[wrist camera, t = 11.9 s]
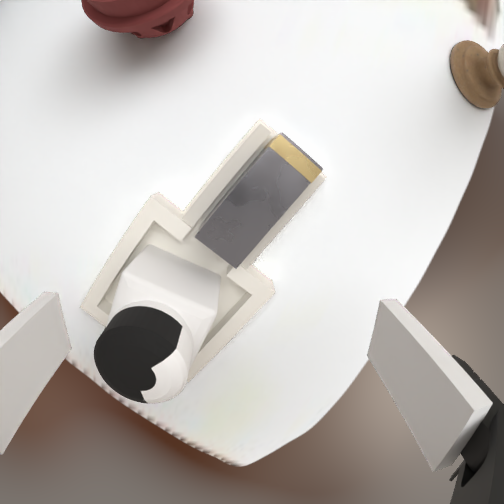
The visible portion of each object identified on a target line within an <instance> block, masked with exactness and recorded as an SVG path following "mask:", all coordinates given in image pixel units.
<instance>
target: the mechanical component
mask: <svg viewBox="0 0 504 504" xmlns="http://www.w3.org/2000/svg"><path fill="white" fill-rule="evenodd" d="M81 1H82V7H83V10H84V12H85V13H86V15H87V16H88V17H89V18H90V19H91V20H92V21H93V22H94V23H96V24H97V25H98V26H100V27H101V28H103V29H105V30H109V31H112V32H120V33H129V32H130V33H132V34H134V35H136V36H137V37H138V38H151V37H158V36H162V35H165V34H168V33H170V32H172V31H174V30H175V29H177V28H178V27H180V26H181V25H182V24H183V23H184V22H185V21H186V20H187V19H189V18H191V17H192V15H193V5H194V0H81Z"/></svg>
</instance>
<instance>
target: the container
mask: <svg viewBox="0 0 504 504" xmlns="http://www.w3.org/2000/svg"><path fill="white" fill-rule="evenodd" d="M220 283H221V276H220V275H219V274H216V273H214V272H212V271H210V270H207V269H205V268H203V267H200V266H198V265H196V264H194V263H191V262H189V261H187V260H185V259H183V258H180V257H178V256H176V255H174V254H171V253H169V252H167V251H165V250H163V249H160V248H158V247H156V246H154V245H151V244H149V245H147V246H146V247H145V248H144V249H143V250H142V251H141V252H140V253H139V255H138V256H137V257H136V258H135V259H134V260H133V261H132V262H131V263H130V264H129V265H128V266H127V268H126V269H125V270H124V271H123V272H122V274H121V277H120V280H119V283H118V287H117V290H116V293H115V297H114V300H113V303H112V307H111V310H110V314H109V317H108V321H107V325H106V328H105V330H104V331H103V333H102V334H101V336H100V337H99V339H98V340H97V342H96V345H95V349H94V359H95V363H96V366H97V369H98V371H99V373H100V375H101V376H102V378H103V379H104V381H105V382H106V383H107V384H108V385H109V386H110V387H111V388H112V389H113V390H115V391H116V392H117V393H119V394H120V395H122V396H124V397H126V398H128V399H131V400H134V401H137V402H141V403H160V402H164V401H167V400H170V399H172V398H174V397H176V396H177V395H178V394H180V392H181V391H182V390H183V389H184V387H185V385H186V382H187V378H188V372H189V370H190V368H191V366H192V364H193V362H194V360H195V358H196V356H197V354H198V352H199V350H200V348H201V346H202V344H203V342H204V340H205V338H206V336H207V334H208V332H209V330H210V328H211V326H212V324H213V322H214V320H215V318H216V316H217V310H218V301H219V292H220Z"/></svg>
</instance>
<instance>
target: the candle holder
mask: <svg viewBox="0 0 504 504" xmlns="http://www.w3.org/2000/svg"><path fill="white" fill-rule="evenodd" d="M450 65H451V70H452V74H453V77H454V80H455V82H456V84H457V86H458V88H459V90H460V91H461V93H462V94H463V95H464V97H465V98H466V99H467V100H468V101H469V102H471V103H472V104H473V105H475V106H477V107H479V108H492V107H494V106H495V105H496V104H497V103H498V102H499V100H500V97H501V92H502V88H503V89H504V44H503V45H502V46H501V48H500V50H498V49H492V50H490V51H489V53H488V52H487V51H486V50H485V49H484V48H483V47H482V46H480V45H479V44H477V43H475V42H473V41H468V40H467V41H462V42H459V43H457V44H456V45H455V46H454V47H453V49H452V52H451V56H450Z"/></svg>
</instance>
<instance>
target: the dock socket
mask: <svg viewBox="0 0 504 504" xmlns="http://www.w3.org/2000/svg"><path fill="white" fill-rule="evenodd" d="M276 135H278V133H277V132H276V131H274V130H273V129H272V128H271V127H270V126H268V125H267V124H266V123H265V122H263V121H262V120H261V119H259V120H258V121H257V122H256V123H255V125H254V126H253V127H252V128H251V129H250V130H249V131H248V133H247V134H246V135H245V136H244V137H243V138H242V139H241V141H240V142H239V143H238V144H237V145H236V146H235V148H234V149H233V150H232V151H231V152H230V154H229V155H228V156H227V157H226V158H225V159H224V161H223V162H222V163H221V164H220V166H219V167H218V168H217V169H216V170H215V172H214V173H213V174H212V175H211V176H210V178H209V179H208V180H207V181H206V183H205V184H204V185H203V186H202V188H201V189H200V190H199V191H198V193H197V194H196V195H195V196H194V198H193V199H192V200H191V202H190V203H189V204H188V205H187V207H186V208H185V209H184V211H182V210H181V209H180V208H179V207H177V206H176V205H175V204H174V203H172V202H171V201H170V200H168V199H167V198H166V197H165V196H163V195H162V194H161V193H160V192H158V193H156V194H153V195H151V196H150V197H149V199H148V200H147V201H146V203H145V204H144V206H143V207H142V209H141V210H140V211H139V213H138V214H137V216H136V217H135V219H134V220H133V222H132V223H131V225H130V226H129V228H128V229H127V231H126V232H125V234H124V235H123V237H122V238H121V240H120V241H119V243H118V244H117V246H116V247H115V249H114V251H113V252H112V254H111V255H110V257H109V259H108V260H107V262H106V263H105V265H104V267H103V268H102V270H101V272H100V273H99V275H98V277H97V278H96V280H95V282H94V283H93V285H92V287H91V288H90V290H89V292H88V294H87V295H86V297H85V299H84V301H83V302H82V304H81V306H80V308H82V309H83V310H84V311H85V312H87V313H88V314H89V315H90V316H92V317H93V318H94V319H96V320H97V321H98V322H99V323H101V324H102V325H103V326H105V327H106V325H107V321H108V317H109V314H110V310H111V307H112V303H113V300H114V297H115V293H116V290H117V287H118V283H119V280H120V277H121V274H122V272H123V271H124V270H125V269H126V268H127V266H128V265H129V264H130V263H131V262H132V261H133V260H134V259H135V258H136V257H137V256H138V255H139V253H140V252H141V251H142V250H143V249H144V248H145V247H146V246H147V245H149V244H151V245H154V246H156V247H158V248H160V249H163V250H165V251H167V252H169V253H171V254H174V255H176V256H178V257H180V258H183V259H185V260H187V261H189V262H191V263H194V264H196V265H198V266H200V267H203V268H205V269H207V270H210V271H212V272H214V273H216V274H219V275H220V276H221V283H220V292H219V301H218V310H217V316H216V318H215V320H214V322H213V324H212V326H211V328H210V330H209V332H208V334H207V336H206V338H205V340H204V342H203V344H202V346H201V348H200V350H199V352H198V354H197V356H196V358H195V360H194V362H193V364H192V366H191V368H190V370H189V372H188V378H187V382H189V381H190V380H191V379H192V378H193V377H194V376H195V375H196V374H197V373H198V372H199V371H200V370H201V369H202V368H203V367H204V366H205V365H206V364H207V363H208V362H209V361H210V360H211V359H212V358H213V357H214V356H215V355H216V354H217V353H218V352H219V351H220V350H221V349H222V348H223V347H224V346H225V345H226V344H227V343H228V342H229V341H230V340H231V339H232V338H233V337H234V336H235V335H236V334H237V333H238V332H239V331H240V330H241V329H242V328H243V327H244V326H245V325H246V323H247V322H248V321H249V320H250V319H251V318H252V317H253V316H254V315H255V314H256V313H257V312H258V311H259V310H260V309H261V308H262V307H263V306H264V304H265V303H266V302H267V301H268V300H269V299H270V298H271V297H272V296H273V295H274V294H275V289H274V286H273V282H272V280H271V279H270V278H268V277H267V276H266V275H265V274H263V273H262V272H261V271H259V270H258V269H257V268H256V267H254V266H253V265H252V263H253V262H254V261H255V259H256V258H257V257H258V256H259V255H260V254H261V253H262V251H263V250H264V249H265V248H266V247H267V246H268V245H269V243H270V242H271V241H272V240H273V239H274V238H275V237H276V235H277V234H278V233H279V232H280V231H281V230H282V229H283V227H284V226H285V225H286V224H287V223H288V222H289V221H290V219H291V218H292V217H293V216H294V215H295V214H296V212H297V211H298V210H299V209H300V208H301V207H302V206H303V204H304V203H305V202H306V201H307V200H308V199H309V198H310V196H311V195H312V194H313V193H314V192H315V191H316V189H317V188H318V187H319V186H320V185H321V184H322V183H323V181H324V180H325V178H326V176H325V175H324V174H323V173H322V172H321V173H320V174H319V175H318V176H317V178H316V179H315V180H314V181H313V182H312V183H310V184H309V186H308V187H307V188H306V189H305V190H304V191H303V192H302V194H301V195H300V196H299V197H298V198H297V199H296V201H295V202H294V203H293V204H292V205H291V206H290V207H289V209H288V210H287V211H286V212H285V213H284V214H283V216H282V217H281V218H280V219H279V220H278V221H277V222H276V224H275V225H274V226H273V227H272V228H271V229H270V231H269V232H268V233H267V234H266V235H265V236H264V237H263V239H262V240H261V241H260V242H259V243H258V244H257V246H256V247H255V248H254V249H253V250H252V251H251V252H250V254H249V255H248V256H247V257H246V258H245V259H244V261H243V262H242V263H241V264H240V265H239V266H238V267H237V269H235V268H234V267H233V266H231V265H230V264H229V263H227V262H226V261H225V260H224V259H222V258H221V257H220V256H218V255H217V254H216V253H214V252H213V251H212V250H211V249H209V248H208V247H207V246H205V245H204V244H203V243H201V242H200V241H199V240H198V239H196V238H195V235H196V233H197V231H198V229H199V227H200V225H201V223H202V222H203V221H204V220H205V218H206V217H207V216H208V215H209V213H210V212H211V211H212V210H213V208H214V207H215V206H216V205H217V203H218V202H219V201H220V200H221V199H222V197H223V196H224V195H225V194H226V192H227V191H228V190H229V189H230V188H231V186H232V185H233V184H234V183H235V182H236V180H237V179H238V178H239V177H240V176H241V174H242V173H243V172H244V171H245V170H246V169H247V167H248V166H249V165H250V164H251V163H252V162H253V160H254V159H255V158H256V157H257V156H258V155H259V153H260V152H261V151H262V150H263V149H264V147H265V146H266V145H267V143H268V142H269V141H270V140H271V139H272V138H273V137H275V136H276Z"/></svg>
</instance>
